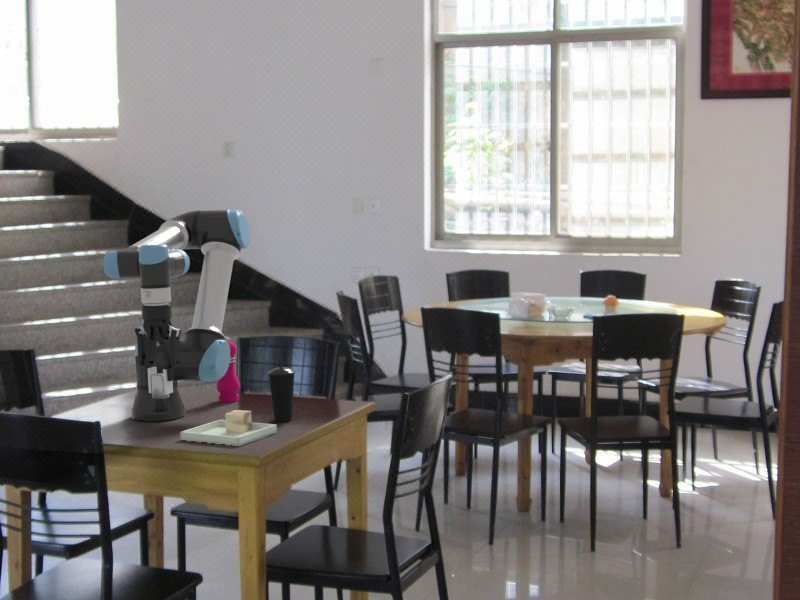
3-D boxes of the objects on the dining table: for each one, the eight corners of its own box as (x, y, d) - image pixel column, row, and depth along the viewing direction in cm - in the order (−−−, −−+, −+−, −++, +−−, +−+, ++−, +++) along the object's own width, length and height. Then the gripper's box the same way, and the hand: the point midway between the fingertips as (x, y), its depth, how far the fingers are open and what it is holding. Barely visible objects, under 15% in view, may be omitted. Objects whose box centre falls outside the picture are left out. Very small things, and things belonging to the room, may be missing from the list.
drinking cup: (271, 417, 309) (269, 347, 307) (298, 416, 308) (296, 346, 306) (267, 422, 301) (264, 351, 299) (295, 422, 301) (292, 350, 299)
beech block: (235, 428, 291) (234, 410, 291) (251, 429, 290) (251, 410, 289) (226, 432, 287) (225, 413, 286) (242, 433, 285) (242, 414, 285)
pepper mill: (221, 398, 341) (218, 335, 339) (243, 398, 340) (241, 334, 338) (214, 402, 334) (211, 338, 332) (236, 402, 333) (234, 337, 331)
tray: (180, 440, 281) (179, 431, 281) (220, 427, 296) (220, 419, 296) (238, 446, 273) (238, 437, 272) (277, 432, 288) (277, 424, 287)
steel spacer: (156, 395, 287) (155, 373, 287) (172, 395, 286) (171, 373, 286) (149, 398, 283) (148, 375, 282) (165, 398, 282) (164, 375, 281)
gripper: (120, 304, 283) (125, 393, 285) (174, 306, 275) (178, 397, 277) (139, 301, 289) (144, 388, 292) (192, 303, 282) (196, 392, 284)
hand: (160, 392), depth 285 cm, fingers closed on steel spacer, 4 cm apart
